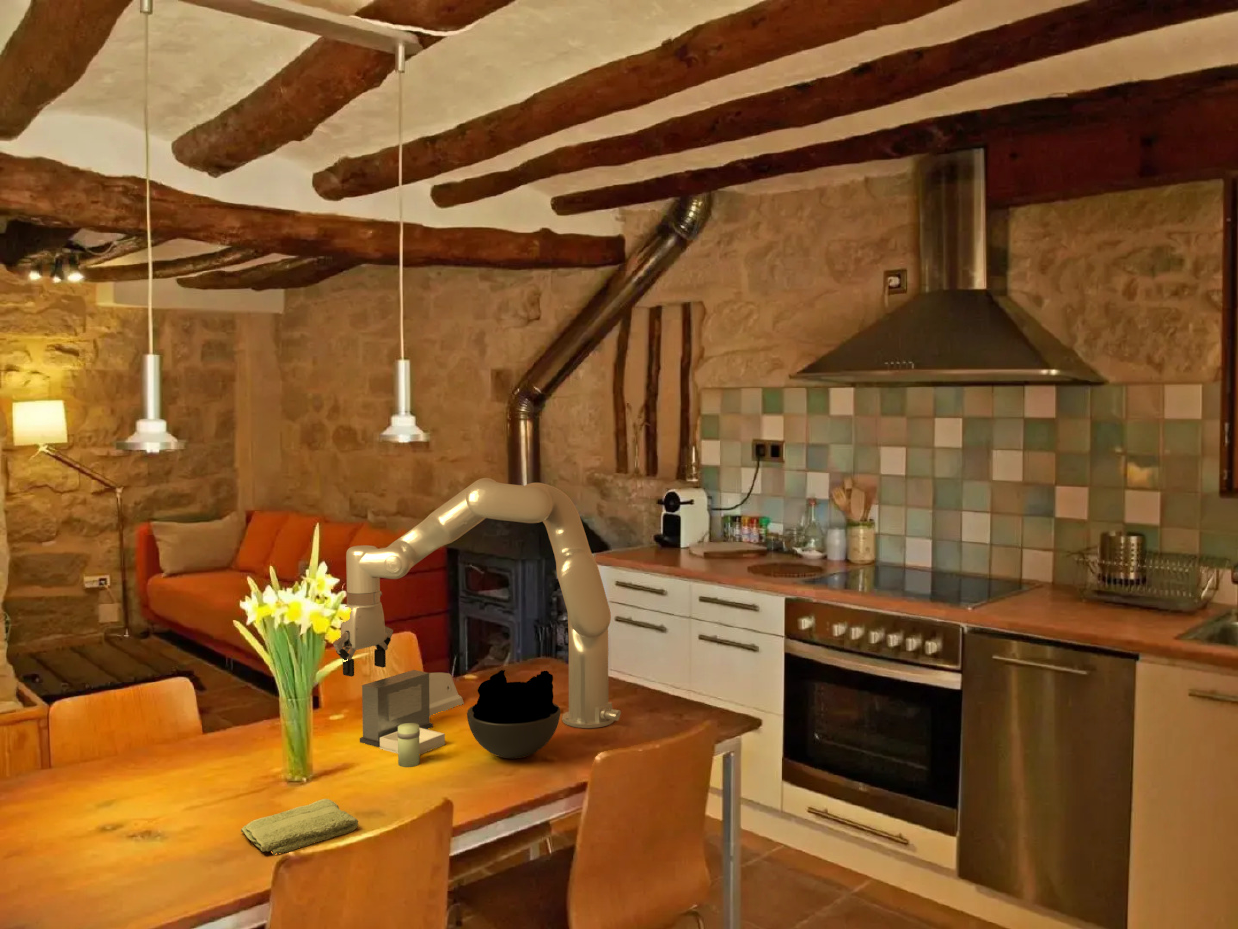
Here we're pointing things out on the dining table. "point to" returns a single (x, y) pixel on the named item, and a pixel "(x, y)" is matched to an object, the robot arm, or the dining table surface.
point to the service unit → (394, 705)
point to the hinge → (442, 693)
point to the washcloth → (299, 827)
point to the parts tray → (426, 741)
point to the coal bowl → (514, 715)
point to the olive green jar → (408, 744)
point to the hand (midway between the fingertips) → (364, 671)
